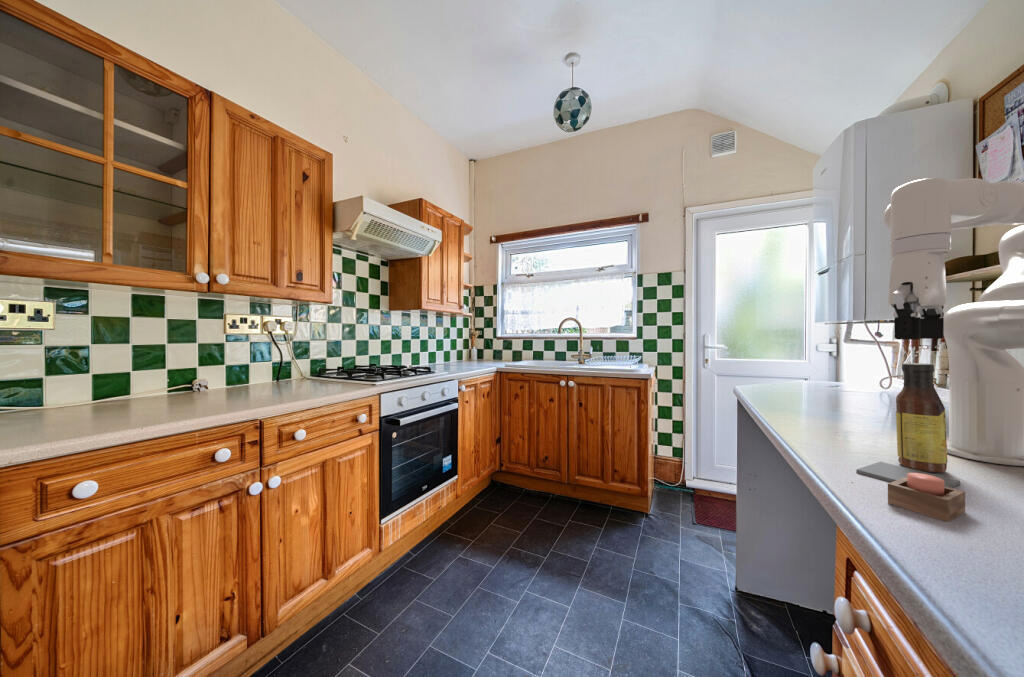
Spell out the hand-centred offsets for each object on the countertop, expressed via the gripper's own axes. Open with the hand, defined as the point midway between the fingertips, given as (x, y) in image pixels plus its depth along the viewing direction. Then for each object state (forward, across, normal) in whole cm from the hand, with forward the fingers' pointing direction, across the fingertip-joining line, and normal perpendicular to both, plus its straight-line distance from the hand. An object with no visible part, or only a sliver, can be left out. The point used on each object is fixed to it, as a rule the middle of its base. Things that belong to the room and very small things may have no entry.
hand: (919, 338), depth 67 cm
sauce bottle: (+25, 0, 0) cm, 25 cm away
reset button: (+23, +21, +7) cm, 31 cm away
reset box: (+25, +20, +7) cm, 33 cm away
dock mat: (+25, +8, +1) cm, 26 cm away
